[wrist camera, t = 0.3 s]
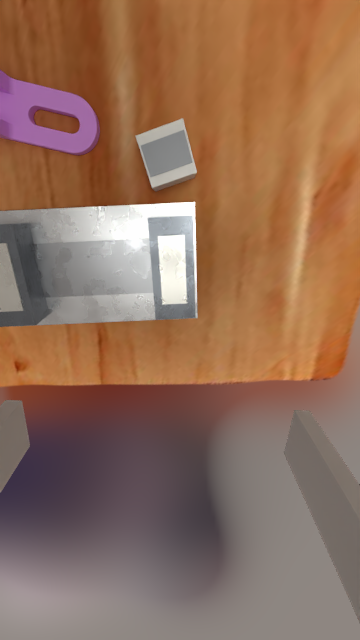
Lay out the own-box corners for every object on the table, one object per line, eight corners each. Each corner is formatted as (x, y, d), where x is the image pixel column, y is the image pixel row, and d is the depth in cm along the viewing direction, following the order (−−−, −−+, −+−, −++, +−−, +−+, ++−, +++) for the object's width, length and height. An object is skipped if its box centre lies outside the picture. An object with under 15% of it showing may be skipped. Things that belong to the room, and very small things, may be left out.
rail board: (-14, 212, 35) (-44, 211, 30) (194, 202, 35) (197, 200, 30) (16, 323, 40) (-6, 338, 36) (197, 315, 40) (199, 329, 35)
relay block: (141, 147, 33) (135, 135, 28) (182, 132, 33) (182, 117, 28) (155, 191, 35) (151, 187, 30) (194, 178, 34) (197, 172, 29)
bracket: (-16, 134, 32) (-64, 113, 26) (-18, 75, 31) (-71, 37, 24) (97, 160, 33) (78, 147, 27) (102, 105, 32) (83, 76, 25)
